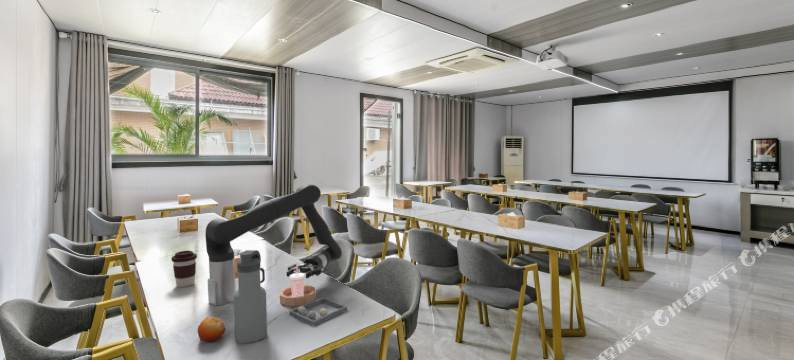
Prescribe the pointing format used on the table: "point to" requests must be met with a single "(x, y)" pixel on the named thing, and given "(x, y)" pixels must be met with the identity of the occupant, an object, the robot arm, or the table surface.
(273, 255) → the table surface
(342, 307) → the tray
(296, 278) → the beverage cup
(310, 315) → the pebble
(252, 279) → the water bottle
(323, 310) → the pebble
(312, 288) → the bowl
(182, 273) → the coffee cup
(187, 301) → the table surface
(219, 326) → the fruit
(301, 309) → the pebble
